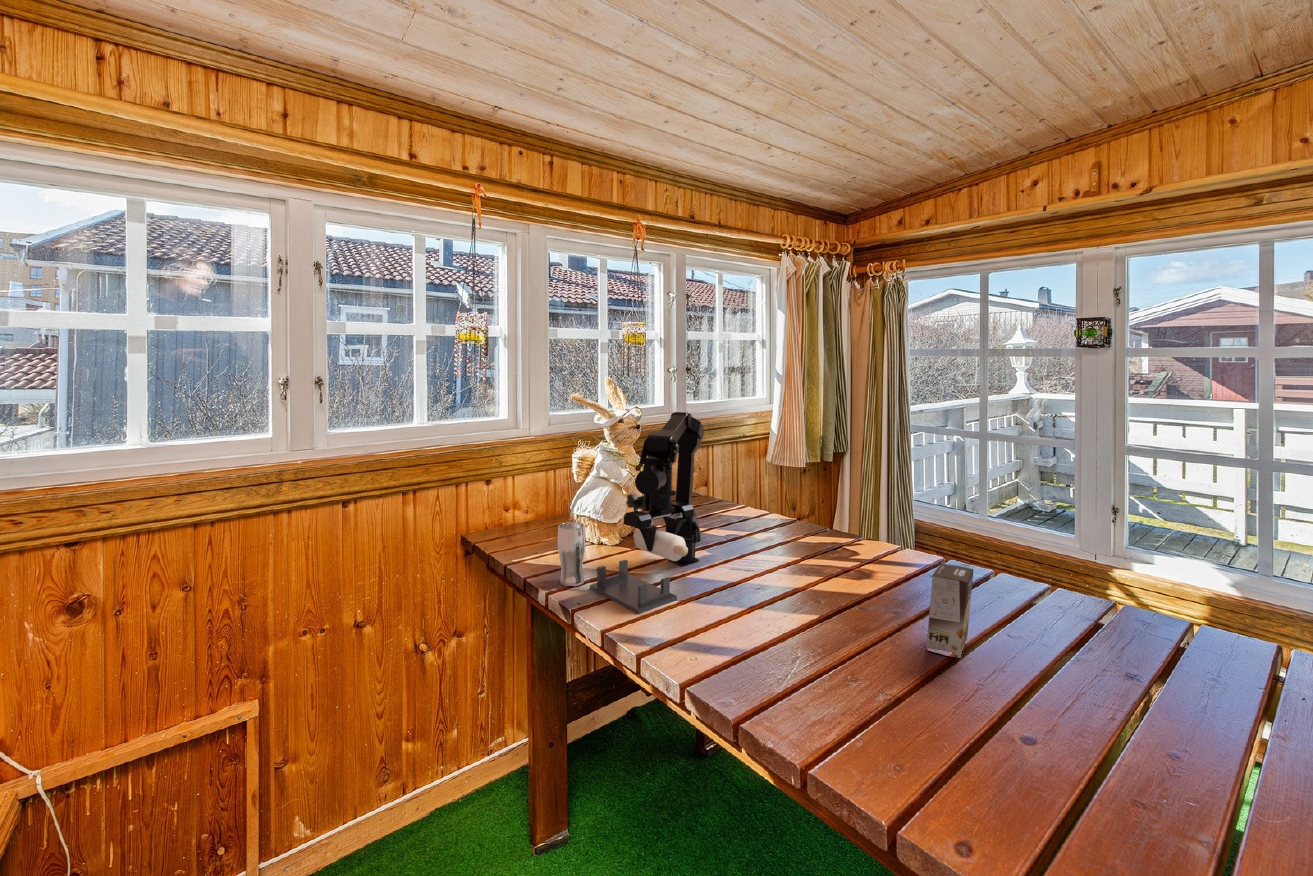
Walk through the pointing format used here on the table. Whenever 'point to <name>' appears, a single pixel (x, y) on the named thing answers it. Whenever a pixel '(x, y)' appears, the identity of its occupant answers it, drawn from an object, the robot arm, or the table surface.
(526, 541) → the table surface
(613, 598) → the roll stand
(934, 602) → the coffee box
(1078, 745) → the table surface
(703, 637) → the table surface
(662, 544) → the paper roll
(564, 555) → the beer glass
